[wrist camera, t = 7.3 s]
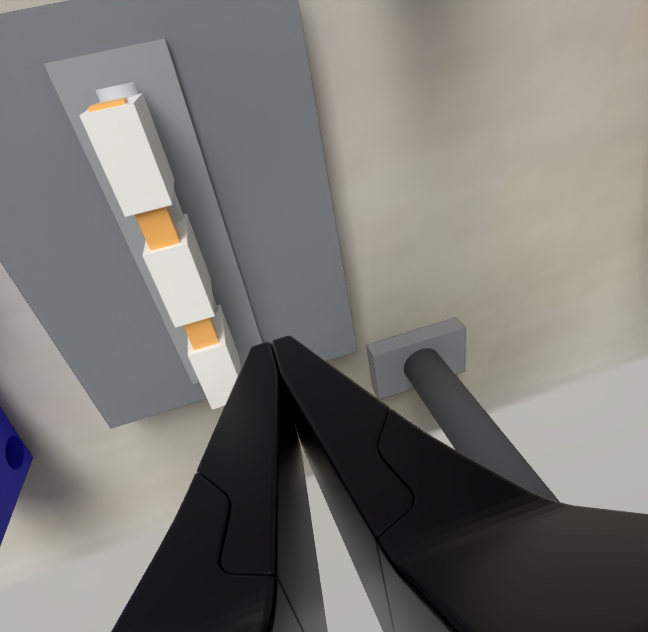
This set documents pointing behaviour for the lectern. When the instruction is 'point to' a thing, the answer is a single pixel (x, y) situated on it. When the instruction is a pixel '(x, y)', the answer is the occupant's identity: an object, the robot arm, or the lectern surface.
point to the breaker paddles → (163, 231)
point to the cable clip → (11, 470)
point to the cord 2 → (448, 396)
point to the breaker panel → (189, 185)
